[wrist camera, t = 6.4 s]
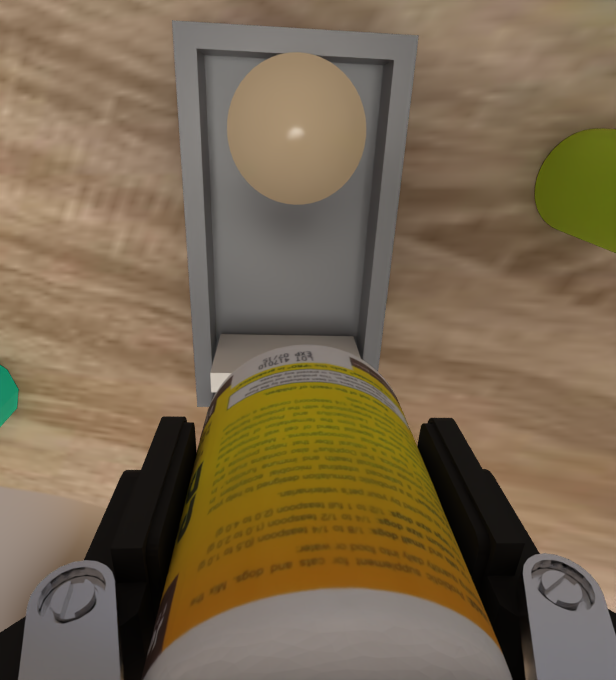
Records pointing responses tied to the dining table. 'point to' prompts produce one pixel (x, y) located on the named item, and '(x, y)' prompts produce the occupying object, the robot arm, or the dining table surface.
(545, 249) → the dining table surface
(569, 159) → the soap dispenser
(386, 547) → the supplement bottle
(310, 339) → the pusher paddle
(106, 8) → the dining table surface
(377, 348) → the pusher lane
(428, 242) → the dining table surface
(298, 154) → the beige round container
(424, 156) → the dining table surface
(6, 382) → the candle
